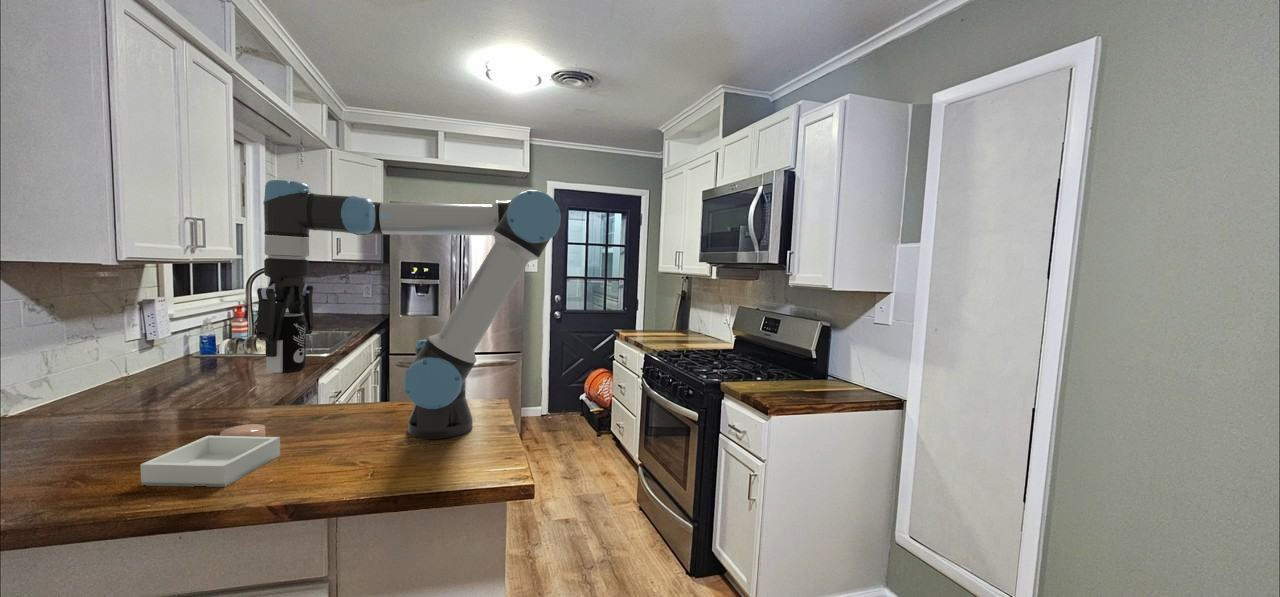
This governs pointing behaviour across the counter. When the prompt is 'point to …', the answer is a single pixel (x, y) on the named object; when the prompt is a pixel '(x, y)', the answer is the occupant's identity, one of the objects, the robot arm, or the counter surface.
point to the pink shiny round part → (245, 431)
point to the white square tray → (210, 461)
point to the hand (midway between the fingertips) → (286, 368)
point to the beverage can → (293, 342)
